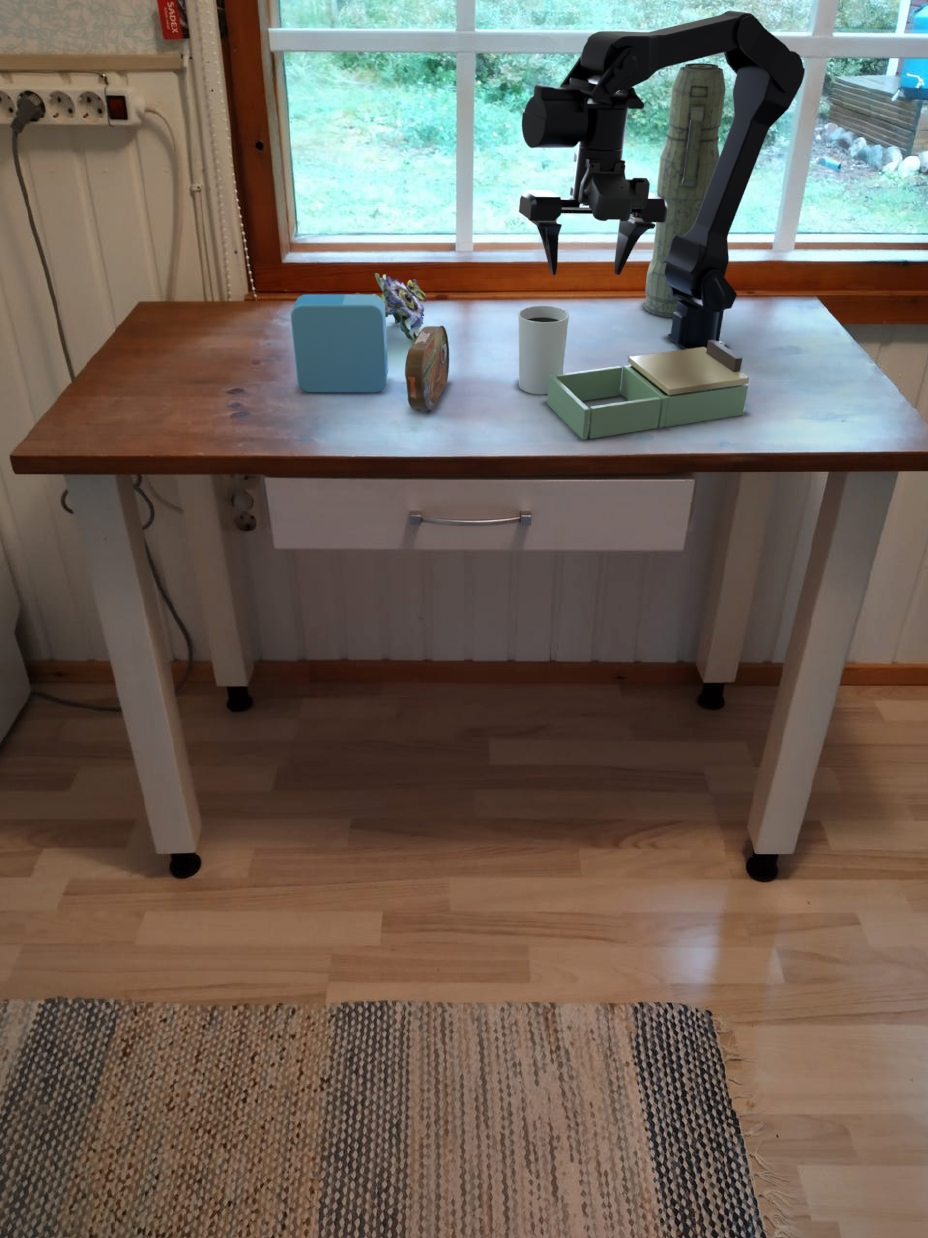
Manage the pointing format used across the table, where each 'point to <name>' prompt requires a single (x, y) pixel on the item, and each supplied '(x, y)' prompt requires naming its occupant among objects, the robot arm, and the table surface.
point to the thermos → (685, 168)
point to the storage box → (634, 402)
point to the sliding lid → (692, 368)
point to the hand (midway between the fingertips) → (585, 274)
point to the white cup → (541, 346)
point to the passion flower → (403, 304)
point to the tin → (427, 367)
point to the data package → (340, 343)
